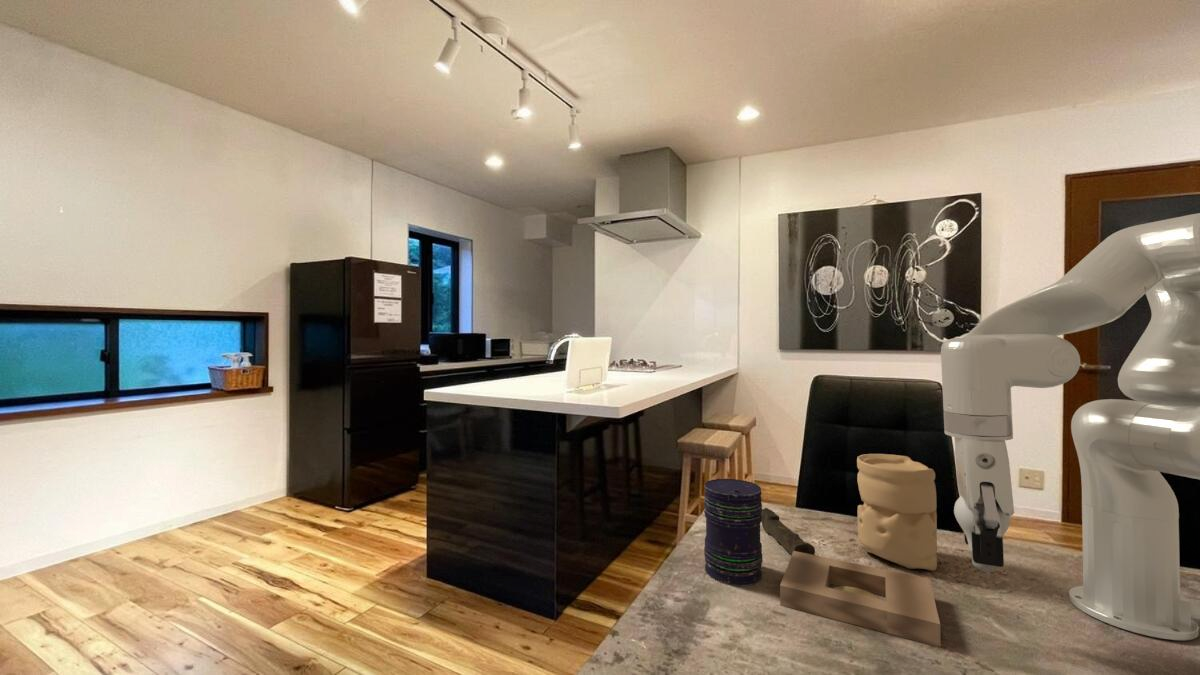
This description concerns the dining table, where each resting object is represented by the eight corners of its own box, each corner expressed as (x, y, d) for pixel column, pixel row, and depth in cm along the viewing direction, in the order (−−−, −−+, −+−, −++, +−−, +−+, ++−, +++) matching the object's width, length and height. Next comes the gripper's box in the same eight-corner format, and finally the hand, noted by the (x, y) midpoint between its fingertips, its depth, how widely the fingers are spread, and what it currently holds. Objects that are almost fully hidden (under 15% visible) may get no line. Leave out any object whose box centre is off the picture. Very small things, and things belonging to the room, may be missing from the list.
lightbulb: (946, 567, 67) (943, 490, 67) (972, 557, 70) (969, 483, 70) (996, 586, 62) (992, 503, 62) (1022, 576, 64) (1019, 495, 64)
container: (912, 544, 94) (911, 454, 94) (953, 575, 81) (952, 471, 82) (846, 542, 95) (845, 452, 95) (877, 572, 82) (876, 469, 83)
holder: (929, 597, 74) (929, 578, 74) (940, 647, 62) (940, 624, 62) (793, 567, 84) (793, 550, 84) (780, 604, 72) (780, 585, 72)
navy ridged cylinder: (699, 558, 88) (699, 478, 88) (752, 559, 87) (752, 478, 88) (710, 585, 78) (710, 495, 78) (770, 586, 77) (770, 495, 78)
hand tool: (816, 566, 85) (816, 540, 85) (794, 566, 85) (794, 540, 85) (774, 526, 104) (774, 505, 104) (757, 526, 104) (757, 505, 104)
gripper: (1030, 439, 57) (1037, 589, 56) (997, 416, 72) (1003, 536, 71) (953, 434, 60) (959, 576, 60) (937, 414, 75) (942, 528, 75)
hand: (983, 553), depth 66 cm, fingers closed on lightbulb, 5 cm apart
